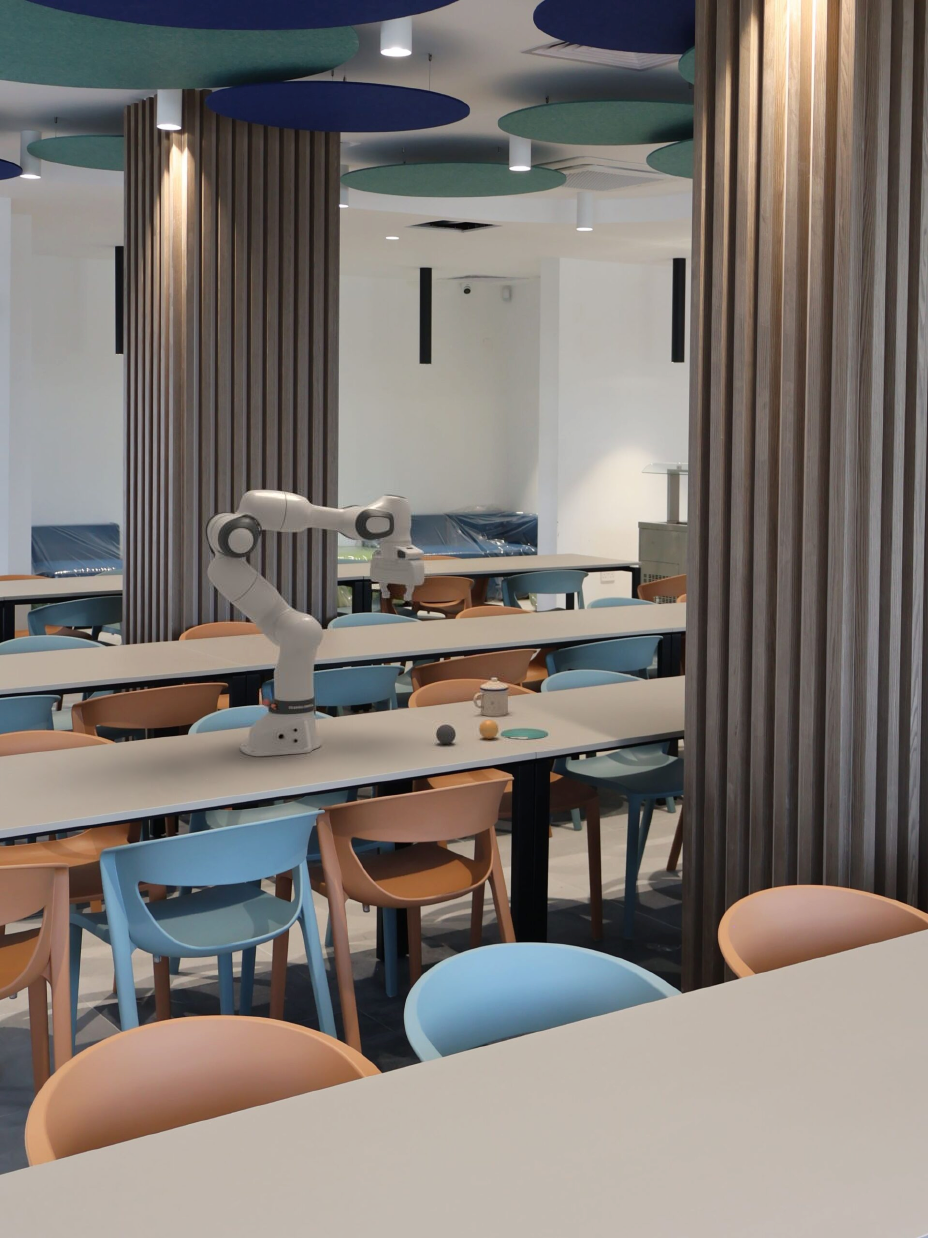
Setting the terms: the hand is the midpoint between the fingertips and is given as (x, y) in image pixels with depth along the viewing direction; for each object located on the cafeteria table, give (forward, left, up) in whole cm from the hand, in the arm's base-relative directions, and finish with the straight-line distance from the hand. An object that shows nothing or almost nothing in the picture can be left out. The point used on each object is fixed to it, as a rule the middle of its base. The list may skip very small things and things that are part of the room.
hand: (396, 599), depth 367 cm
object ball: (+23, -14, -38) cm, 46 cm away
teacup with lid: (+40, +16, -41) cm, 59 cm away
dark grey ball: (+9, -14, -38) cm, 41 cm away
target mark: (+35, -14, -41) cm, 55 cm away
